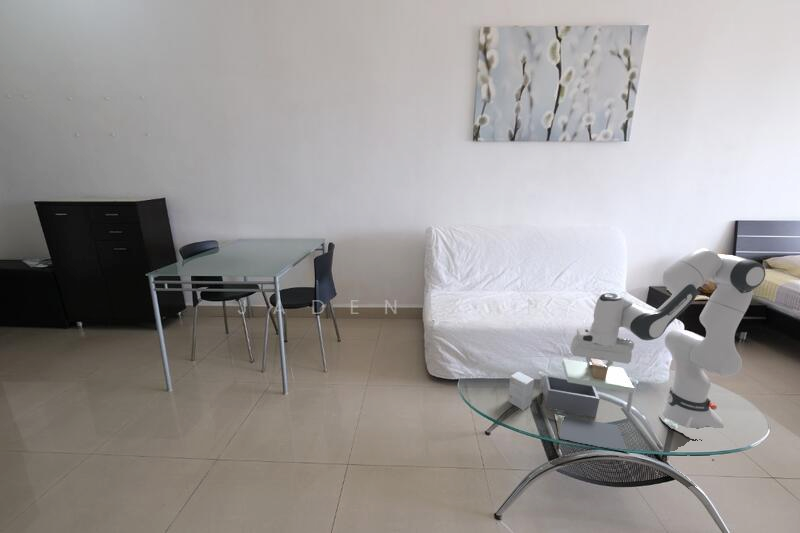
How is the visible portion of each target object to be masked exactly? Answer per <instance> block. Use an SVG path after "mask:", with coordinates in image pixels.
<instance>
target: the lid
mask: <svg viewBox="0 0 800 533" xmlns="http://www.w3.org/2000/svg"><path fill="white" fill-rule="evenodd" d="M589 362H591V363H592V368H587V361H586V362H585V361H582V360H581V361H580V360H574V359H573V360H572V359H567V358H563V359H562V367H563V371H564V373H565V378H567V382H570V383H576V384H582V385H588V386H594V387H595V388H600V389H605V390H606V389H607V390H611V391H618V392H624V393H631V394H634V391H635V386H634V385H633V383H632V381H631V380H630V378H629V377H628V374H627V372H626V371H625V369H624V367H619V366H613V365H611V366H610V367H608V371H607V369H606V367H605V365H604V364H605V363H604V360H599V359H592V358H591V359H590V360H589Z"/></svg>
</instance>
